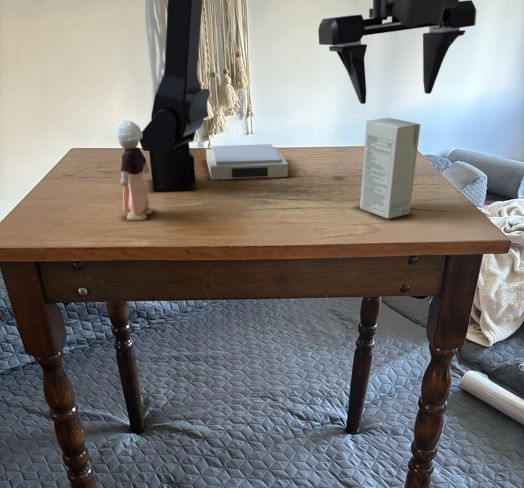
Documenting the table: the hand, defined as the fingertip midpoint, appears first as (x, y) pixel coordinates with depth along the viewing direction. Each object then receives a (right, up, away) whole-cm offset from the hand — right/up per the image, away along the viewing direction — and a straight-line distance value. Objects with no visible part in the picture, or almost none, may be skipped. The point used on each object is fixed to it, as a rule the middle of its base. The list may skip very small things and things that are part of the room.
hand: (395, 98), depth 74 cm
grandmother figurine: (-35, -14, +5) cm, 38 cm away
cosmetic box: (0, -13, +7) cm, 15 cm away
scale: (-21, -1, +26) cm, 33 cm away
